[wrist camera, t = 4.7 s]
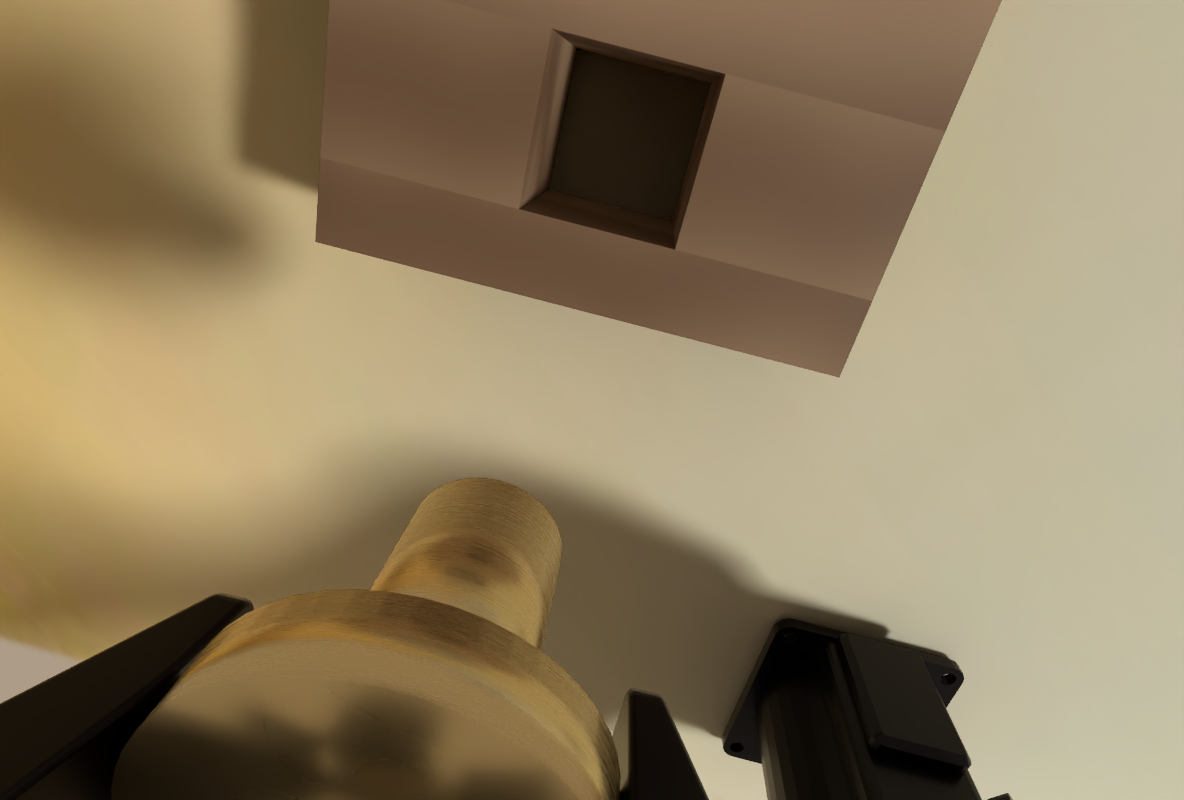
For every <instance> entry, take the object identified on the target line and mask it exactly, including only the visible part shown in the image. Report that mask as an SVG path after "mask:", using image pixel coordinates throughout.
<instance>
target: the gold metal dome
mask: <svg viewBox="0 0 1184 800" xmlns="http://www.w3.org/2000/svg"><path fill="white" fill-rule="evenodd" d="M561 555H562V543H561V537H560V533H559V530H558V527H557V525H556V523H555V521H554V519H553V518H552V516H551V515H550V513H549V512H548V511H547V510H546V508H545V507H544V506H543V505H542V504H541V503H540V502H539V501H538V500H536V499H535V498H534V497H533V496H531V495H530V494H528V493H527V492H525V491H523V490H522V489H520V488H518V487H516V486H513V485H511V484H509V483H505V482H502V481H499V480H493V479H488V478H467V479H461V480H456V481H453V482H450V483H447V484H445V485H443V486H441V487H439V488H437V489H436V490H434V491H433V492H432V493H431V494H429V495H428V496H427V497H426V498H425V499H424V501H423V502H422V503H421V504H420V506H419V508H418V509H417V511H416V513H415V514H414V516H413V518H412V519H411V521H410V523H409V524H408V526H407V528H406V530H405V531H404V533H403V535H402V536H401V538H400V540H399V541H398V543H397V545H396V546H395V548H394V550H393V551H392V553H391V555H390V556H389V558H388V560H387V562H386V563H385V565H384V567H383V568H382V570H381V572H380V573H379V575H378V577H377V578H376V580H375V582H374V583H373V585H372V587H371V588H370V590H359V589H354V590H327V591H320V592H313V593H307V594H300V595H295V596H292V597H288V598H285V599H281V600H278V601H274V602H271V603H268V604H266V605H264V606H261V607H259V608H257V609H255V610H253V611H250V612H248V613H246V614H244V615H243V616H241V617H240V618H238V619H237V620H235V621H234V622H232V623H231V624H229V625H228V626H226V627H225V628H224V629H223V630H222V631H221V632H220V633H219V634H218V635H217V636H216V637H215V638H213V639H212V640H211V641H210V642H209V644H208V645H207V646H206V647H205V648H204V650H203V651H202V652H201V653H200V654H199V656H198V657H197V658H196V659H195V660H194V662H193V663H192V664H191V665H190V666H189V668H188V669H187V670H186V671H185V672H184V673H183V675H182V676H181V677H180V678H179V679H178V681H177V682H176V683H175V684H174V685H173V687H172V688H171V689H170V690H169V691H168V693H167V694H166V695H165V696H164V697H163V699H162V700H161V701H160V702H159V703H158V705H157V706H156V707H155V708H154V709H153V711H152V712H151V713H150V714H149V715H148V717H147V718H146V719H145V720H144V721H143V723H142V724H141V725H140V726H139V727H138V729H137V730H136V731H135V732H134V734H133V735H132V736H131V738H130V739H129V741H128V742H127V744H126V745H125V746H124V748H123V749H122V751H121V754H120V756H119V759H118V761H117V764H116V766H115V769H114V775H113V781H112V787H111V795H112V800H620V779H621V774H620V767H619V760H618V754H617V751H616V748H615V745H614V742H613V739H612V736H611V733H610V731H609V729H608V727H607V725H606V723H605V722H604V720H603V718H602V716H601V714H600V712H599V711H598V709H597V708H596V706H595V705H594V704H593V702H592V701H591V700H590V698H589V697H588V695H587V694H586V693H585V691H584V690H583V689H582V688H581V687H580V686H579V685H578V684H577V683H576V682H575V681H574V680H573V679H572V677H571V676H570V675H569V674H568V673H567V672H566V671H565V670H564V669H563V668H561V667H560V666H559V665H558V664H556V663H555V662H554V661H553V660H552V659H550V658H549V657H548V656H547V655H546V654H544V653H543V652H542V648H543V643H544V638H545V633H546V628H547V624H548V619H549V614H550V609H551V605H552V600H553V595H554V590H555V585H556V581H557V576H558V571H559V566H560V561H561Z"/></svg>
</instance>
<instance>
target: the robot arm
mask: <svg viewBox="0 0 1184 800" xmlns="http://www.w3.org/2000/svg"><path fill="white" fill-rule="evenodd" d="M253 610H254V607H253V604H252V602H251V601H250V600H248V599H245V598H240V597H236V596H232V595H227V594H215V595H212V596H210V597H208V598H206V599H204V600H202V601H200V602H198V603H196V604H194V605H192V606H190V607H188V608H186V609H184V610H182V611H180V612H178V613H176V614H174V615H172V616H170V617H169V618H167V619H165V620H163V621H161V622H159V623H157V624H155V625H153V626H151V627H149V628H147V629H145V630H143V631H141V632H139V633H137V634H135V635H133V636H131V637H129V638H128V639H126V640H124V641H122V642H120V643H118V644H116V645H114V646H112V647H110V648H108V649H106V650H104V651H102V652H100V653H98V654H96V655H94V656H92V657H90V658H88V659H87V660H85V661H83V662H81V663H79V664H77V665H75V666H73V667H71V668H69V669H67V670H65V671H63V672H61V673H59V674H57V675H56V676H53V677H52V678H49V679H47V680H46V681H44V682H42V683H40V684H38V685H36V686H34V687H32V688H30V689H28V690H26V691H24V692H22V693H20V694H18V695H16V696H14V697H12V698H10V699H9V700H6V701H5V702H3V703H1V704H0V800H112V795H111V787H112V781H113V775H114V769H115V766H116V764H117V761H118V759H119V756H120V754H121V751H122V749H123V748H124V746H125V745H126V744H127V742H128V741H129V739H130V738H131V736H132V735H133V734H134V732H135V731H136V730H137V729H138V727H139V726H140V725H141V724H142V723H143V721H144V720H145V719H146V718H147V717H148V715H149V714H150V713H151V712H152V711H153V709H154V708H155V707H156V706H157V705H158V703H159V702H160V701H161V700H162V699H163V697H164V696H165V695H166V694H167V693H168V691H169V690H170V689H171V688H172V687H173V685H174V684H175V683H176V682H177V681H178V679H179V678H180V677H181V676H182V675H183V673H184V672H185V671H186V670H187V669H188V668H189V666H190V665H191V664H192V663H193V662H194V660H195V659H196V658H197V657H198V656H199V654H200V653H201V652H202V651H203V650H204V648H205V647H206V646H207V645H208V644H209V642H210V641H211V640H212V639H213V638H215V637H216V636H217V635H218V634H219V633H220V632H221V631H222V630H223V629H224V628H225V627H226V626H228V625H229V624H231V623H232V622H234V621H235V620H237V619H238V618H240V617H241V616H243V615H244V614H246V613H248V612H250V611H253ZM786 633H793V634H792V635H790V636H785V635H784V634H786ZM945 674H948V675H945ZM943 675H945V676H943ZM963 680H964V676H963V673H962V671H961V669H960V668H959V666H958V664H957V663H956V662H955V661H952V660H950V659H946V658H942V657H938V656H935V655H931V654H927V653H923V652H919V651H915V650H911V649H907V648H903V647H900V646H896V645H892V644H888V643H884V642H880V641H876V640H872V639H868V638H864V637H861V636H857V635H853V634H849V633H845V632H841V631H837V630H833V629H829V628H826V627H822V626H818V625H814V624H810V623H806V622H802V621H798V620H794V619H782V620H780V621H778V622H776V624H775V625H774V626H773V628H772V630H771V632H770V635H769V637H768V639H767V641H766V643H765V645H764V647H763V650H762V652H761V654H760V656H759V658H758V660H757V662H756V665H755V667H754V669H753V671H752V673H751V675H750V677H749V680H748V682H747V684H746V686H745V688H744V690H743V693H742V695H741V697H740V699H739V701H738V703H737V705H736V708H735V710H734V712H733V714H732V716H731V718H730V720H729V723H728V725H727V727H726V729H725V731H724V733H723V737H722V741H723V749H724V751H725V752H726V753H727V754H728V755H731V756H733V757H737V758H741V759H745V760H749V761H753V762H757V763H761V764H762V766H763V772H764V779H765V785H766V792H767V798H768V800H982V799H981V797H980V795H979V793H978V790H977V788H976V786H975V784H974V782H973V780H972V778H971V775H970V773H969V771H968V768H969V767H970V766H971V760H970V758H969V755H968V753H967V751H966V749H965V747H964V745H963V743H962V741H961V739H960V737H959V735H958V732H957V730H956V728H955V726H954V724H953V722H952V720H951V718H950V716H949V714H948V712H947V709H946V707H947V706H948V704H949V703H950V701H951V700H952V698H953V697H954V695H955V694H956V692H957V691H958V689H959V688H960V686H961V685H962V683H963ZM612 739H613V742H614V745H615V748H616V751H617V754H618V760H619V767H620V774H621V779H620V800H709V799H708V797H707V794H706V792H705V790H704V788H703V785H702V783H701V781H700V779H699V777H698V774H697V772H696V770H695V768H694V765H693V763H692V761H691V759H690V757H689V754H688V752H687V750H686V748H685V746H684V743H683V741H682V739H681V737H680V734H679V732H678V730H677V728H676V726H675V723H674V721H673V719H672V717H671V714H670V712H669V710H668V708H667V706H666V703H665V701H664V699H663V698H662V697H661V696H660V695H658V694H656V693H651V692H647V691H643V690H638V689H630V690H629V691H628V692H627V693H626V696H625V698H624V702H623V705H622V708H621V711H620V714H619V717H618V720H617V723H616V726H615V729H614V732H613V736H612ZM735 742H736V743H735ZM987 800H1013V799H1012V798H1011V796H1010V795H1009V794H1008V793H1006V794H1003V795H1000V796H996V797H993V798H990V799H987Z"/></svg>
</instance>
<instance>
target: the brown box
mask: <svg viewBox="0 0 1184 800" xmlns="http://www.w3.org/2000/svg"><path fill="white" fill-rule="evenodd" d="M1001 1H1002V0H329V9H328V27H327V45H326V62H325V80H324V98H323V116H322V134H321V151H320V169H319V187H318V205H317V223H316V240H315V242H318V243H322V244H326V245H330V246H334V247H338V248H341V249H345V250H349V251H353V252H357V253H361V254H365V255H368V256H372V257H376V258H380V259H384V260H388V261H392V262H395V263H399V264H403V265H407V266H411V267H415V268H419V269H423V270H426V271H430V272H434V273H438V274H442V275H446V276H450V277H453V278H457V279H461V280H465V281H469V282H473V283H477V284H480V285H484V286H488V287H492V288H496V289H500V290H504V291H508V292H511V293H515V294H519V295H523V296H527V297H531V298H535V299H538V300H542V301H546V302H550V303H554V304H558V305H562V306H565V307H569V308H573V309H577V310H581V311H585V312H589V313H592V314H596V315H600V316H604V317H608V318H612V319H616V320H620V321H623V322H627V323H631V324H635V325H639V326H643V327H647V328H650V329H654V330H658V331H662V332H666V333H670V334H674V335H677V336H681V337H685V338H689V339H693V340H697V341H701V342H705V343H708V344H712V345H716V346H720V347H724V348H728V349H732V350H735V351H739V352H743V353H747V354H751V355H755V356H759V357H762V358H766V359H770V360H774V361H778V362H782V363H786V364H790V365H793V366H797V367H801V368H805V369H809V370H813V371H817V372H820V373H824V374H828V375H832V376H836V377H840V375H841V372H842V370H843V368H844V365H845V363H846V361H847V358H848V356H849V354H850V351H851V349H852V347H853V344H854V342H855V340H856V337H857V335H858V333H859V330H860V328H861V326H862V324H863V321H864V319H865V317H866V314H867V312H868V310H869V307H870V305H871V303H872V300H873V298H874V296H875V293H876V291H877V289H878V286H879V284H880V282H881V279H882V277H883V275H884V272H885V270H886V268H887V266H888V263H889V261H890V259H891V256H892V254H893V252H894V249H895V247H896V245H897V242H898V240H899V238H900V235H901V233H902V231H903V228H904V226H905V224H906V221H907V219H908V217H909V214H910V212H911V210H912V207H913V205H914V203H915V201H916V198H917V196H918V194H919V191H920V189H921V187H922V184H923V182H924V180H925V177H926V175H927V173H928V170H929V168H930V166H931V163H932V161H933V159H934V156H935V154H936V152H937V149H938V147H939V145H940V143H941V140H942V138H943V136H944V133H945V131H946V129H947V126H948V124H949V122H950V119H951V117H952V115H953V112H954V110H955V108H956V105H957V103H958V101H959V98H960V96H961V94H962V91H963V89H964V87H965V84H966V82H967V80H968V78H969V75H970V73H971V71H972V68H973V66H974V64H975V61H976V59H977V57H978V54H979V52H980V50H981V47H982V45H983V43H984V40H985V38H986V36H987V33H988V31H989V29H990V26H991V24H992V22H993V20H994V17H995V15H996V13H997V10H998V8H999V6H1000V3H1001ZM577 48H578V49H581V50H585V51H589V52H593V53H597V54H601V55H604V56H608V57H612V58H616V59H620V60H623V61H627V62H631V63H635V64H639V65H643V66H646V67H650V68H654V69H658V70H662V71H666V72H669V73H673V74H677V75H681V76H685V77H689V78H692V79H696V80H700V81H704V82H708V83H711V86H710V89H709V93H708V97H707V100H706V104H705V107H704V111H703V114H702V118H701V121H700V125H699V128H698V132H697V136H696V139H695V143H694V146H693V150H692V153H691V157H690V160H689V164H688V167H687V171H686V175H685V178H684V182H683V185H682V189H681V192H680V196H679V199H678V203H677V206H676V210H675V213H674V217H673V221H669V220H665V219H661V218H657V217H653V216H650V215H646V214H642V213H638V212H634V211H630V210H626V209H623V208H619V207H615V206H611V205H607V204H603V203H600V202H596V201H592V200H588V199H584V198H580V197H576V196H573V195H569V194H565V193H561V192H557V191H553V190H550V189H549V186H550V181H551V176H552V171H553V166H554V161H555V156H556V151H557V146H558V141H559V136H560V130H561V125H562V120H563V115H564V110H565V105H566V100H567V95H568V90H569V85H570V80H571V75H572V70H573V65H574V60H575V55H576V50H577Z"/></svg>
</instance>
